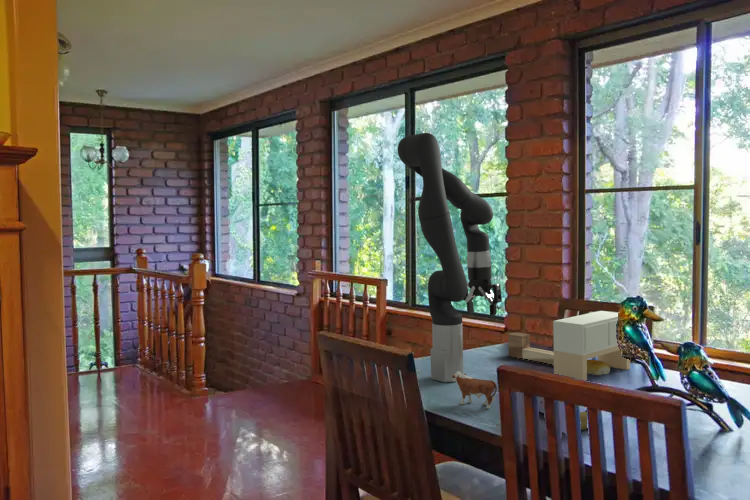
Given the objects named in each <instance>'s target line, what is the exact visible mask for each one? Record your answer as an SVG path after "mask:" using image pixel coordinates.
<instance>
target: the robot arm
mask: <svg viewBox="0 0 750 500" xmlns="http://www.w3.org/2000/svg"><path fill="white" fill-rule="evenodd" d="M440 150H441V149H440V145H439V142H438V139H437V138H436V137H435V136H434V134H432V133H430V132H422V133H416V134H411V135H407V136H404V137H402V138H401V139H400V141H398V145H397V154H398V158H399V160H400V161H401V162H402V163H403V165H405V166H406V167H407V168H409V169H410V170H412V171H413V172H415V173H416V174H418V175H419V176H420V177H421V178H422V192H421V196H420V199H419V203H418V208H417V214H418V219H419V220H418V221H419V224H420V229H421V232H422V236H423V237H424V239H425V240H426V242H427V243H428V246H430V247H431V249H432V250H433V251H434V253H435V254H436V256H437V258H438V259H439V263H440V264H441V265H440V266H441V269H442V270H435V271H433V272H432V273H431V274H430V277H429V279H428V283H427V295H428V297H427V298H428V309H429V315H430V317H431V323H432V324H431V325H432V327H431V329H432V334H431V335H432V348H430V352H429V353H430V379H431V380H434V381H439V382H442V383H451V382H452V383H454V382H455V383H456V381H453V378H452V375H454V374H455V373H456V372H458V371H459V372H460V373H461V374H464V343H463V342H464V339H463V336H464V335H463V314H462V312H460V311H458V310H457V308H455V307H454V306H453V304H452V303H459V302H462V301H465V302H466V311H467V313H468V314H469V315H472V314H474V313H475V312H474V299H475V298H476V297H480V298H482V297H483V298H485V300H486V301H487V302H488V303H489V316H490V317H495V316H497V304H499V303H502V302H503V299H502V287H501V284H500V283H499V282H498V283H492V278H493V277H492V276H493V275H492V259H491V258H492V257H491V252H490V238H489V234H488V233H487V232H484V231H482V230H481V229H480V227H479V226H480V225H482V226H483V225H487V224H489V223H490V222H491V221H492V220H493V218H494V210H493V208H492V206H491V205H490V203H489V202H488V201H487V200H485V198H482V197H481V196H479V195H477V194H476V193H474V192H473V191H472V190H471V189H470V188H469V187H468V186H467V185H466V184H465V182H463V181H462V180H461V179H460V178H459V177H458V176H456V175H455V174H454V173H452V172H450V171H448V170H446V169H445V168H443V167H442V157H441V151H440ZM448 202H449V203H450V204H451V205H452V206H453V207H454V208H456V209H458V210H460V213H459V217H460V222H461V226H462V229H463V232H464V235H465V238H466V247H467V248H466V249H467V252H466V253H467V256H466V263H467V266H466V267H467V277H466V274H465V270H464V266H463V263H462V261H461V257H460V254H459V251H458V245H457V242H456V238H455V234H454V228H453V223H452V217H451V213H450V209H449V205H448ZM467 279H468V280H467Z"/></svg>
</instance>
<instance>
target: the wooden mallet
mask: <svg viewBox="0 0 750 500" xmlns="http://www.w3.org/2000/svg"><path fill="white" fill-rule="evenodd" d="M507 335H508V337H507V340H508V357H509V356H511V357H510V358H514V357H517V358H516V359H519V358H523V359H522V360H524V359H528V360H527V361H529V360H534V361H539V362H544V363H548V364H547V365H549V364H552V365H551V366H554V351H551V350H546V349H541V348H535V347H531V345H530V343H531V342H530V341H531V339H530V338H531V337H530V336H531V335H530V334H529V333H522V332H515V331H514V332H512V333H508V334H507ZM534 361H533V362H534ZM539 362H538V363H539ZM544 363H543V364H544Z"/></svg>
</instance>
